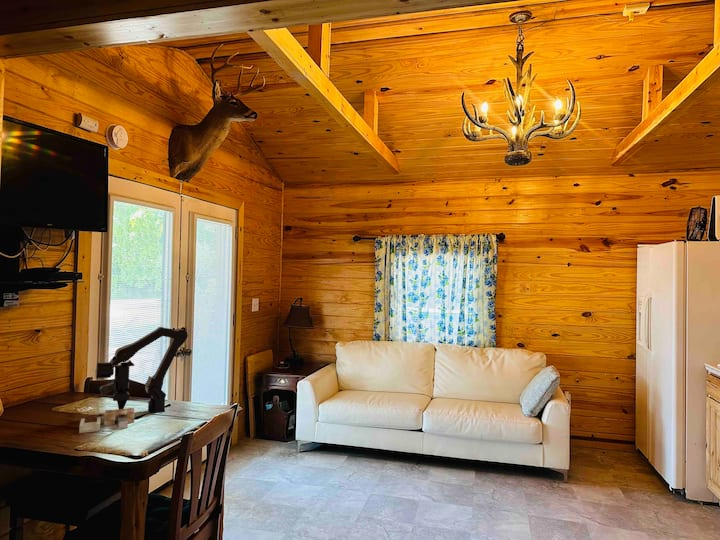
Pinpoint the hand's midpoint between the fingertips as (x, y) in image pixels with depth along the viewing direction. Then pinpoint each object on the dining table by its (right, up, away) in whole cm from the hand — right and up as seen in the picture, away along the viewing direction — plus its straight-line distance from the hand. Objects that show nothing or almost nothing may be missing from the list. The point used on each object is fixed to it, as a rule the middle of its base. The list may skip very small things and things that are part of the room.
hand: (120, 411), depth 210 cm
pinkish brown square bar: (+5, -2, -10) cm, 11 cm away
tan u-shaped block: (+4, -1, -9) cm, 10 cm away
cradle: (-3, -1, -19) cm, 19 cm away
